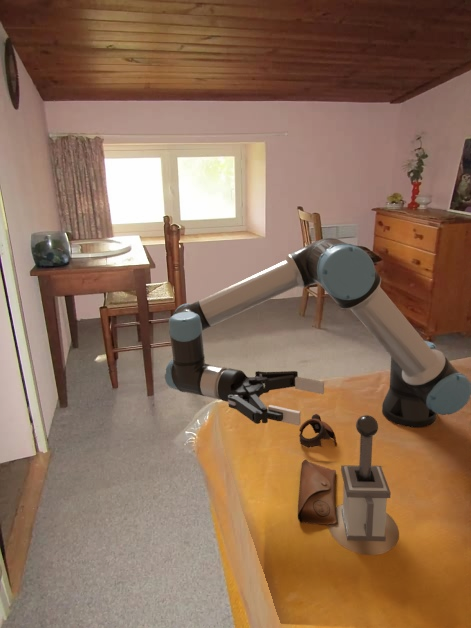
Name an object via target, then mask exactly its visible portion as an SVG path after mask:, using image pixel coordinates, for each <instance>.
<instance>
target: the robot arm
mask: <svg viewBox="0 0 471 628" xmlns="http://www.w3.org/2000/svg"><path fill="white" fill-rule="evenodd" d="M375 267H376V266H375V264H374V261H373V260H372V258H371V257H370V255H369V254H368V253H367V252H366V251H365V250H364V249H363V248H360V247H359V246H358V245H355V244H351V243H348V242H347V243H346V242H344V241H342V240H339V239H336V238H333V237H329V238H321V239H318V240H316V241H313V242H311V243H308V244H307V245H304V246H303V247H301V248H299V249H297V250H295V251H292V252H290V253H289V254H287V256H286V258H285V259H284V260H283V261H281V262H278V263H277V264H274V265H272V266H270V267H268V268H266V269H264V270H262V271H260V272H257V273H255V274H253V275H251V276H249V277H247V278H245V279H243V280H240V281H238V282H236V283H234V284H232V285H230V286H227V287H225V288H223V289H222V290H219V291H217V292H214V293H212V294H211V295H208V296H206V297H203V298H202V299H200V300H198V301H197V300H196V301H195V302H192V303H183V304H181V305H179V306H178V307H176V309H175V311H174V312H173V315H172V316H170V317H169V319H168V335H169V337H170V345H171V352H172V360H170V361H169V362H168V364H167V366H166V367H165V371H166V372H165V373H164V380H165V383H166V385H167V386H168V387H169V388H170V389H173V390H177V391H179V392H181V393H187V394H188V393H189V394H194V395H199V396H202V397H205V398H206V397H207V398H211V399H215V400H219V401H220V400H221V401H223V402H227V403H228V407H229V408H230V409H232V410H236V411H237V412H239V413H240V414H242V415H243V416H244V417H246V418H248V420H250V421H251V422H253V423H254V424H255V425H256V424H257V425H259V424H261V423H262V424H267V423H268V422H269V420H272V421H275V422H282V423H286V424H291V425H294V426H298V427H299V426H300V425H302V424H301V423H302V422H301V421H302V420H301V411H300V410H295V409H290V408H286V407H282V406H278V405H277V406H276V405H274V404H273V405H272V404H269V405H268V406H266V404H265V403H264V402H263V401H262V400H261V399H260V397H261V396H262V395H263V394H268V393H269V392H270V391H274V390H281V389H287V388H294V389H295V390H299V391H304V392H309V393H315V394H321V395H324V394H325V381H323V380H316V379H312V378H311V379H310V378H306V377H299V375H298V371H297V370H292V371H291V370H289V371H255V372H254V373H255V376H254V377H253V376H252V377H250V376H247V375H246V374H245V372H244V371H242V370H241V369H235V368H227V367H225V366H220V365H219V366H217V365H213V364H208V363H206V362H205V361H206V360H205V351H204V350H205V349H204V338H203V336H204V335H203V331H204V330H206V329H209V328H211V327H213V326H215V325H217V324H219V323H221V322H223V321H225V320H228V319H230V318H232V317H235V316H236V315H239V314H240V313H243V312H245V311H248V310H249V309H251V308H254V307H256V306H258V305H261V304H262V303H265V302H267V301H269V300H271V299H274V298H276V297H278V296H280V295H283V294H284V293H287V292H288V291H290V290H293V289H295V288H301V289H305V288H307V287H308V286H311V285H315V284H316V285H317V284H318V286H321V288H322V289H324V291H325V292H326V293H327V295H329V296H330V297H331V298H332V300H333V301H334V302H335V303H336V304H337V305H338V306H339V308H340V309H342V310H350V311H351V312H352V313H353V314H354V315H355V317H357V319H358V320H359V321H360V323H362V325H364V326H365V328H366V329H367V330H368V332H369V333H370V334H371V335H372V336H373V338H375V340H376V341H377V342H378V343H379V344H380V346H381V347H382V348H383V349H384V350H385V351H386V352H387V353H388V354H389V356H390V371H389V372H390V375H389V389H388V391H387V393H386V396H385V397H384V400H383V402H382V405H381V407H382V408H381V413H382V415H383V416H384V417H385V419H386V420H388V421H390V422H392V423H394V424H396V425H399V426H402V427H406V428H415V429H416V428H417V429H418V428H425V427H429V426H431V425H433V424H435V422H436V420H437V416H438V415H441V416H444V415H445V416H446V415H448V416H449V415H452V414H455V413H457V412H459V411H461V410H462V409H463V408H464V407H465V406H466V405H467V404H468V402H469V401H470V400H471V380H469V378H467V375H465V374H463V373H461V372H460V371H458V369H457V368H455V367H454V366H453V364H452V363H451V361H449V359H448V358H447V357H446V356H445V354H444V352H442V351H441V350H438V349H437V345H436V344H435V343H434V342H430V341H427V340H424V339H423V337H422V336H421V335H420V334H419V332H418V331H417V330H416V329H415V327H414V326H413V325H412V324H411V323H410V321H409V320H408V319H407V318H406V317H405V315H404V314H403V313H402V312H401V311H400V309H399V308H398V307H397V305H396V304H395V303H394V302H393V300H391V299H390V297H389V296H388V295H387V293H386V292H385V291H384V290H383V289H382V287H381V283H382V277H381V276H380V274H379V273H378V272H377V270H376V268H375ZM437 414H438V415H437Z"/></svg>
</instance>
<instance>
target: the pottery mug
mask: <svg viewBox="0 0 471 628" xmlns="http://www.w3.org/2000/svg"><path fill="white" fill-rule="evenodd" d="M300 425H301V426H300V427H299V432H300V433H299V435H298V436H299V443H300V445H301V446H303V447H306V448H308V449H309V448H314V447H321V448H322V447H323V445H322V440H330V439H332V440H333V443H334V447H337V446H338V441H337V438H336V435H335V432H334V430H333V429H332V427H331V426H330V425H329V424H328V423H327V422H325V421H322V419H321V416H320V415H319V414H318V413H315V414H312V416H311V418H310V419H307V420H305V421H304V422H303V423H302V424H300ZM309 425H310V426H311V427H312V430H313V431H314V433H315V434H317V435H315V436H314V437H312V438H307V437H305V436H303V432H304V430H305V429H306V428H307V427H308V426H309Z"/></svg>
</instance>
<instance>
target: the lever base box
mask: <svg viewBox="0 0 471 628" xmlns="http://www.w3.org/2000/svg"><path fill="white" fill-rule="evenodd" d="M340 467H341V468H340V472H341V476H342V482H343V488H342V489H343V491H342V492H343V493H342V504H343V509H342V517H343V522H344V527H345V532H346V537H347V540H352V541H386V537H385V520H386V513H387V500H388V499H391V496H392V495H391V491H390V487H389V485H388V484H389V483H388V482H387V479H386V476H385V472H384V470H383V468H382V466H381V465H371V480H370V482H359V465H354V464H353V465H349V464H348V465H346V464H345V465H340Z"/></svg>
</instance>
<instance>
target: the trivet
mask: <svg viewBox="0 0 471 628" xmlns="http://www.w3.org/2000/svg"><path fill="white" fill-rule="evenodd" d="M335 509H336V515H337V523H336V524H333V525H327V526H328V530H329V533H330V535H331V536H332V538H333V539H334V540H335V541H336V542H337V543H338V544H339V545H340V546H342V547H343V548H345V549H347V550H349V551H351V552H354V553H355V554H358V555H359V554H360V555H363V556H364V555H366V556H376V555H382V554H385V553H388V552H389V551H391V550H392V549H393V548H394V547H395V546H396V545H397V543H398V541H399V538H400V532H399V531H400V530H399V527H398V525H397V523H396V520H394V519H393V517H392V516H391V515H390V514H389V513H387V512H386V520H385V537H386V541H352V540H347V537H346V532H345V527H344V522H343V517H342V509H343V503H342V504H340V505H337V506H335Z"/></svg>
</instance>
